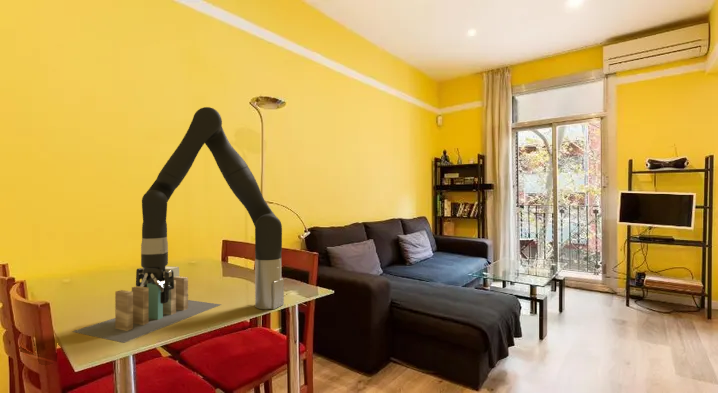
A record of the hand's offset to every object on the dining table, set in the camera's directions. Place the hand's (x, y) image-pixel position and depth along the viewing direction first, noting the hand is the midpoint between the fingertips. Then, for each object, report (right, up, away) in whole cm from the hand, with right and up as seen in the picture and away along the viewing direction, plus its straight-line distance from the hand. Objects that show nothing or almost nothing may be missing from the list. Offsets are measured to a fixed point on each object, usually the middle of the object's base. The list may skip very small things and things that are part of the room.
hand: (154, 301), depth 113 cm
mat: (-1, -6, +1) cm, 6 cm away
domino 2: (-2, -5, -5) cm, 7 cm away
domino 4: (+2, -5, +5) cm, 7 cm away
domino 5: (+4, -5, +9) cm, 11 cm away
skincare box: (-8, -6, +24) cm, 26 cm away
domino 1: (-4, -5, -9) cm, 11 cm away
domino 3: (0, -5, 0) cm, 5 cm away
